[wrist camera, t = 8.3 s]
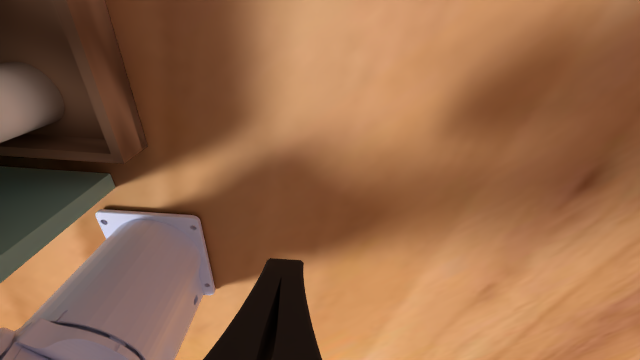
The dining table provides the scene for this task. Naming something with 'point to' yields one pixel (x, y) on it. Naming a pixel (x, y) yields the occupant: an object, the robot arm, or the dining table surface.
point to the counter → (42, 208)
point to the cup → (26, 100)
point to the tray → (73, 80)
